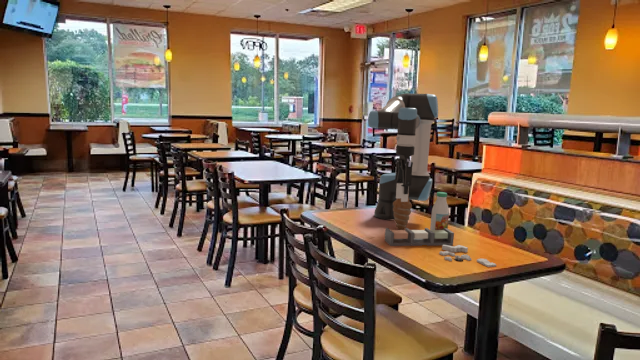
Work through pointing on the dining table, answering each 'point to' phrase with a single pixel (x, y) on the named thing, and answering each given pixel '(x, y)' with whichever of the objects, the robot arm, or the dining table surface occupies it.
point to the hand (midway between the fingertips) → (401, 199)
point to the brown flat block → (400, 234)
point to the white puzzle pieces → (459, 249)
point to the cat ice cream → (401, 213)
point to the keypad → (418, 242)
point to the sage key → (440, 234)
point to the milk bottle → (440, 213)
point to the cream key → (420, 234)
